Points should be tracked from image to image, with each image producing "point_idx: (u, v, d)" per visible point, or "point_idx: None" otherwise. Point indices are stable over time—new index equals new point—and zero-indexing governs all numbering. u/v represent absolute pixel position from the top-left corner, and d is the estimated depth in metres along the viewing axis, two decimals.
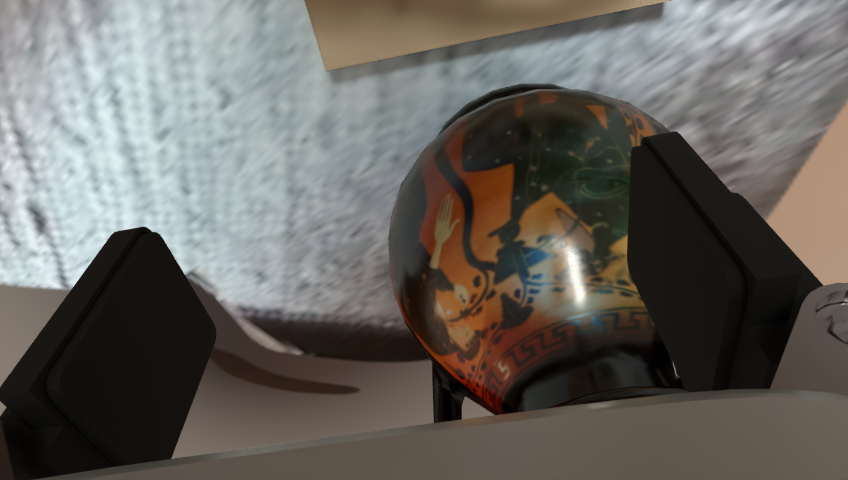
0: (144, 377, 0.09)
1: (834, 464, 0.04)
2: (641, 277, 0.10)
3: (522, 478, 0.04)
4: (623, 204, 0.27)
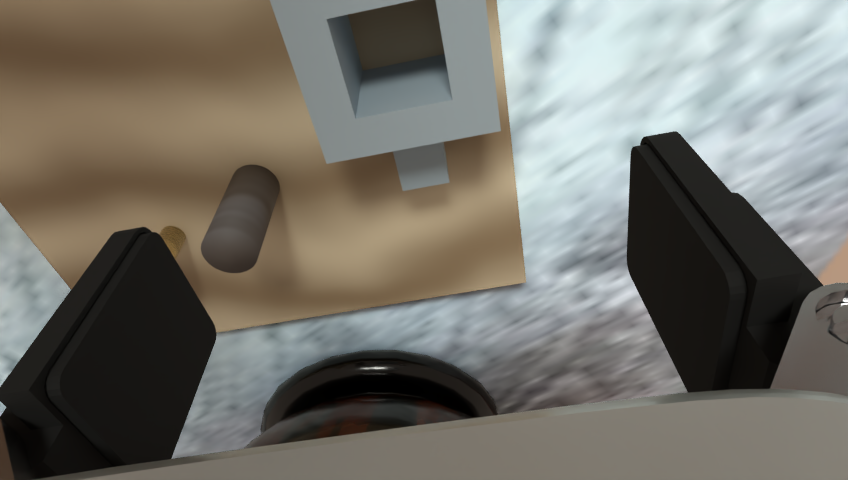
0: (144, 377, 0.09)
1: (834, 464, 0.04)
2: (641, 277, 0.10)
3: (522, 478, 0.04)
4: None
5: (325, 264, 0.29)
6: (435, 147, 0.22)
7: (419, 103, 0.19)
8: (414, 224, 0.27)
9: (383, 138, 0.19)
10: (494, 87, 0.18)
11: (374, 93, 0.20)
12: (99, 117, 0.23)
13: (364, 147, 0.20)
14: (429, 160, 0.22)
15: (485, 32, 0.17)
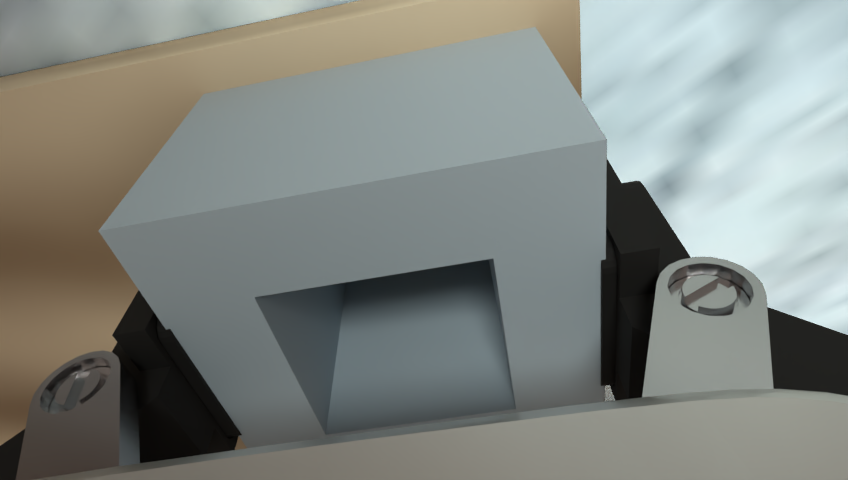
0: None
1: (834, 464, 0.04)
2: None
3: (522, 478, 0.04)
4: None
5: None
6: None
7: (449, 407, 0.10)
8: None
9: None
10: (601, 392, 0.09)
11: (364, 349, 0.11)
12: None
13: None
14: None
15: (597, 315, 0.08)
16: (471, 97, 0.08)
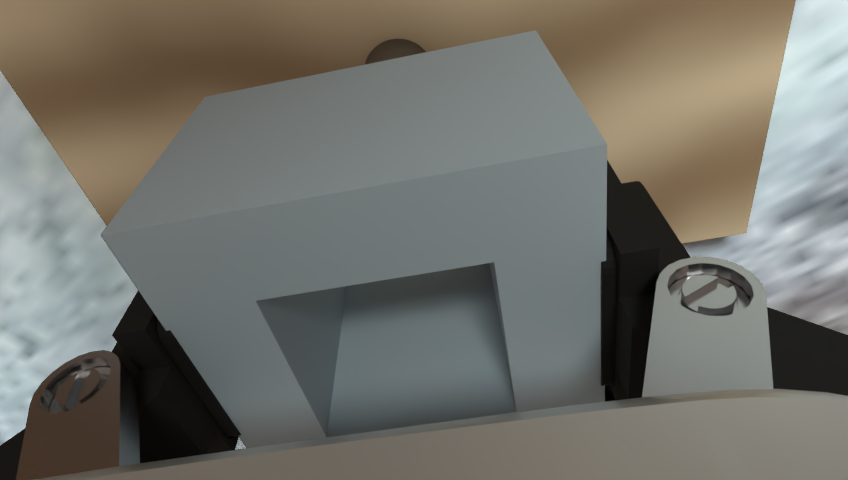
0: None
1: (834, 464, 0.04)
2: None
3: (522, 479, 0.04)
4: None
5: None
6: None
7: (450, 410, 0.10)
8: (614, 141, 0.19)
9: None
10: (602, 395, 0.09)
11: (365, 351, 0.11)
12: None
13: None
14: None
15: (597, 318, 0.08)
16: (472, 101, 0.08)
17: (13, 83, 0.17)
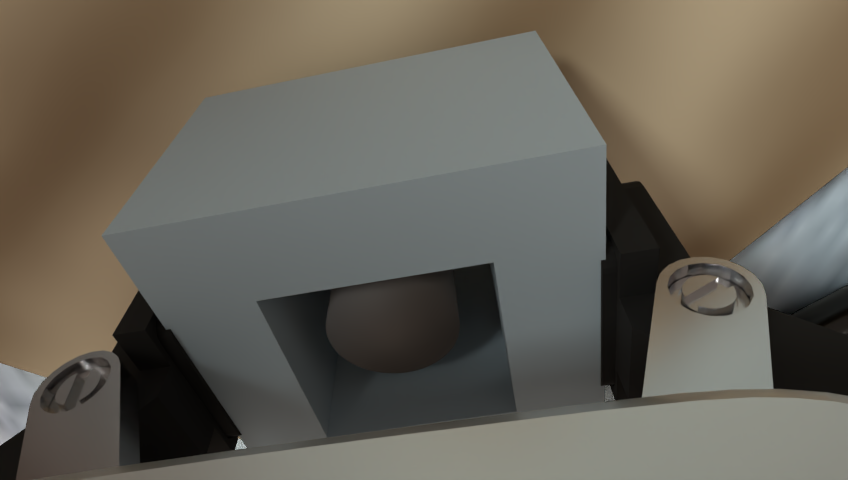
0: None
1: (834, 464, 0.04)
2: None
3: (522, 478, 0.04)
4: None
5: None
6: None
7: (450, 409, 0.10)
8: (737, 17, 0.11)
9: None
10: (602, 394, 0.09)
11: None
12: None
13: None
14: None
15: (597, 318, 0.08)
16: (471, 102, 0.08)
17: None
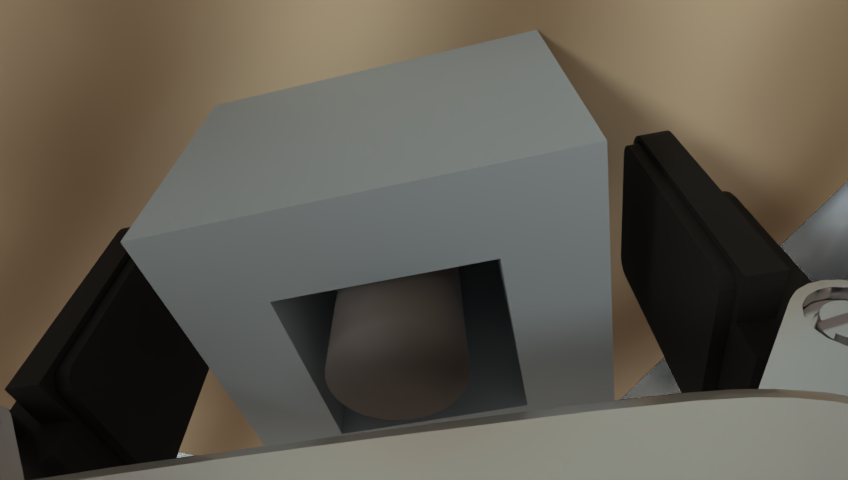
0: (151, 372, 0.09)
1: (835, 464, 0.04)
2: (634, 275, 0.10)
3: (522, 478, 0.04)
4: None
5: None
6: None
7: (462, 405, 0.10)
8: None
9: None
10: (611, 387, 0.09)
11: None
12: None
13: None
14: None
15: (603, 311, 0.08)
16: (474, 102, 0.08)
17: (206, 452, 0.18)
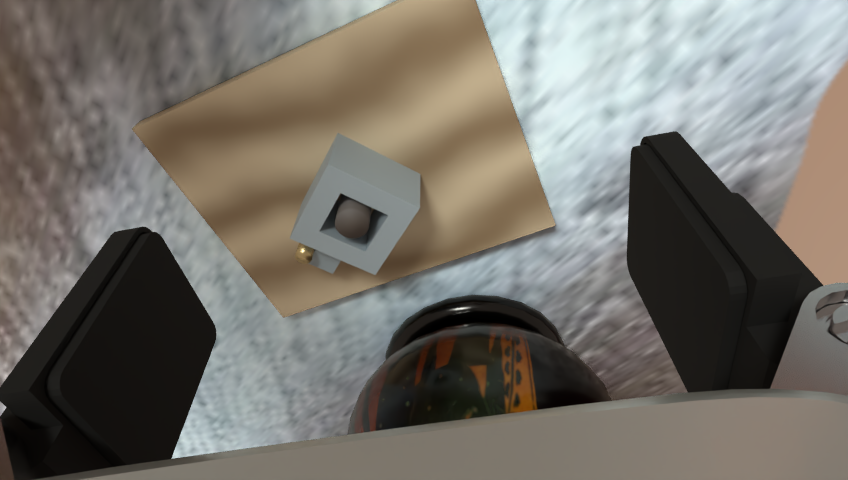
0: (144, 377, 0.09)
1: (835, 464, 0.04)
2: (641, 277, 0.10)
3: (522, 478, 0.04)
4: None
5: (412, 234, 0.42)
6: None
7: (350, 243, 0.37)
8: (466, 195, 0.40)
9: (324, 246, 0.37)
10: (385, 258, 0.38)
11: (331, 219, 0.38)
12: (262, 159, 0.38)
13: (312, 243, 0.37)
14: (332, 259, 0.40)
15: (397, 239, 0.37)
16: (401, 183, 0.36)
17: (205, 217, 0.41)
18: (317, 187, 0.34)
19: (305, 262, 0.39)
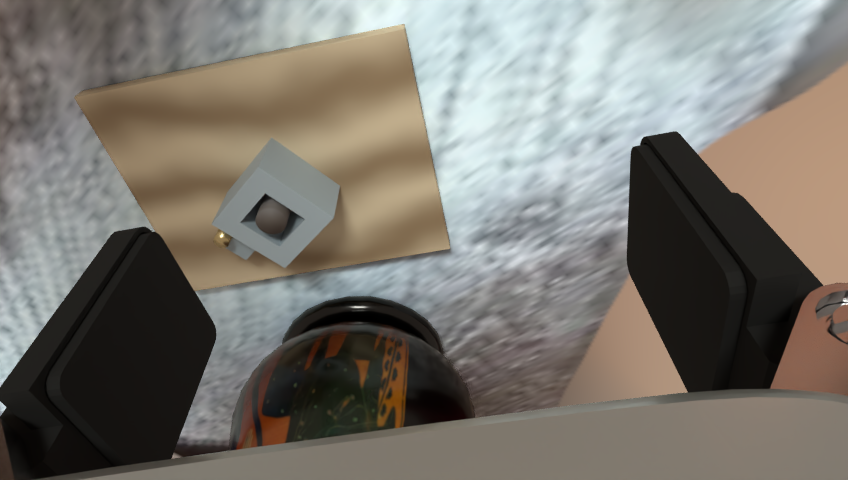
0: (144, 377, 0.09)
1: (834, 464, 0.04)
2: (641, 277, 0.10)
3: (520, 478, 0.04)
4: None
5: (324, 236, 0.47)
6: None
7: (267, 237, 0.41)
8: (377, 210, 0.45)
9: (242, 235, 0.41)
10: (296, 255, 0.42)
11: (252, 212, 0.42)
12: (197, 147, 0.42)
13: (232, 232, 0.41)
14: (247, 247, 0.44)
15: (309, 240, 0.41)
16: (321, 193, 0.41)
17: (131, 189, 0.44)
18: (245, 184, 0.38)
19: (222, 246, 0.43)
